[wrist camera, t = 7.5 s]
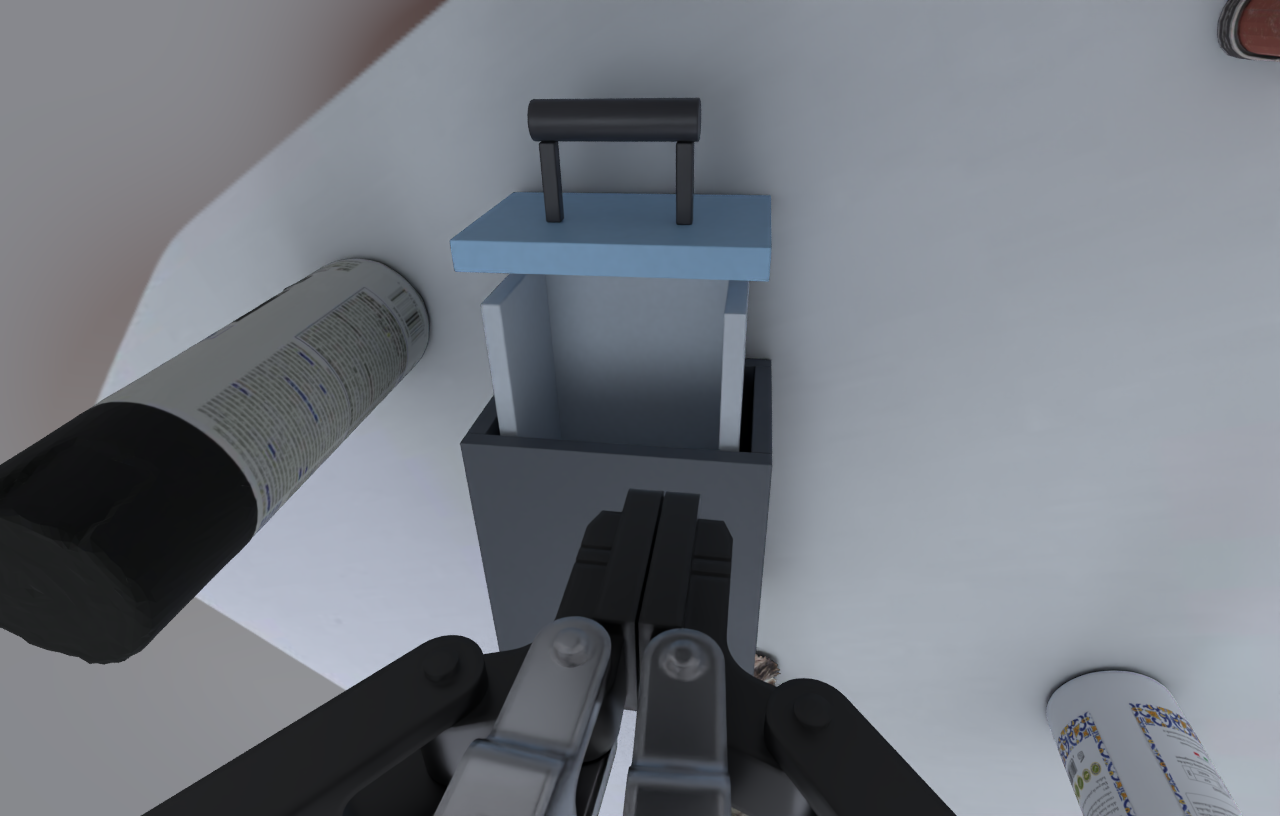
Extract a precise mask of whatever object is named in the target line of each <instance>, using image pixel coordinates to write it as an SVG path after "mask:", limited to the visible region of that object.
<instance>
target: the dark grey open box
mask: <svg viewBox="0 0 1280 816" xmlns="http://www.w3.org/2000/svg"><path fill="white" fill-rule="evenodd" d="M460 445H461V451H462V456H463V461H464V466H465V472H466V477H467V482H468V488H469V493H470V498H471V503H472V509H473V514H474V519H475V525H476V530H477V535H478V540H479V546H480V551H481V556H482V562H483V567H484V572H485V577H486V583H487V588H488V593H489V599H490V604H491V609H492V614H493V620H494V625H495V630H496V635H497V641H498V646H499V651H500V652H501V651H507V650H512V649H517V648H520V647H523V646H526V645H528V644H530V643H532V642H533V640H534V638H535V636H536V635H537V634H538V633H539V631H540V630H541V629H542V628H544V627H545V626H546V625H548V624H549V623H551V622H553V621H554V620H555V618H556V615H557V612H558V609H559V606H560V603H561V601H562V598H563V595H564V592H565V589H566V586H567V583H568V580H569V577H570V574H571V571H572V568H573V565H574V563H575V562H576V557H577V554H578V551H579V548H580V547H581V542H582V539H583V536H584V533H585V530H586V528H587V525H588V524H589V523H590V522H591V521H592V520H593V519H594V518H595V517H596V516H597V515H598V514H599V513H600V512H601V511H602V510H605V511H616V512H622V510H623V507H624V503H625V500H626V496H627V493H628V490H629V488H633V489H645V490H657V491H664V495H665V493H666V491H671V492H684V493H696V494H701V513H700V519H710V520H721V521H724V522H725V524H726V526H727V528H728V530H729V532H730V534H731V536H732V538H733V549H732V564H731V580H730V596H729V611H728V626H727V644H728V648H729V651H730V653H731V655H732V657H733V658H734V660H735V661H736V662H737V664H738V665H739V666H740V667H741V668H742V669H743V670H745V671H746V672H747V673H749V674H750V675H752V676H754V666H755V654H756V643H757V632H758V620H759V609H760V598H761V586H762V575H763V564H764V552H765V541H766V530H767V518H768V507H769V496H770V484H771V473H772V371H771V360H763V359H745V364H744V381H743V399H742V416H741V433H740V450H739V452H734V451H719V450H705V449H690V448H676V447H661V446H646V445H632V444H617V443H602V442H588V441H573V440H559V439H544V438H529V437H515V436H500V429H499V423H498V416H497V410H496V403H495V396H494V395H493V397H492V398H491V400H490V401H489V402H488V404H487V405H486V407H485V408H484V410H483V411H482V413H481V414H480V415H479V417H478V418H477V420H476V421H475V423H474V424H473V425H472V427H471V428H470V430H469V431H468V433H467V434H466V436H465V437H464V438H463V440H462V441H461V443H460Z"/></svg>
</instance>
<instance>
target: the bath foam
mask: <svg viewBox="0 0 1280 816" xmlns="http://www.w3.org/2000/svg"><path fill="white" fill-rule="evenodd" d="M1046 716H1047V721H1048V724H1049V727H1050V729H1051V732H1052V735H1053V737H1054V740H1055V742H1056V745H1057V748H1058V751H1059V754H1060V756H1061V759H1062V761H1063V764H1064V767H1065V769H1066V772H1067V774H1068V777H1069V779H1070V782H1071V785H1072V787H1073V790H1074V792H1075V795H1076V798H1077V800H1078V803H1079V805H1080V808H1081V811H1082V813H1083V816H1243V815H1242V813H1241V811H1240V810H1239V808H1238V806H1237V804H1236V803H1235V801H1234V799H1233V797H1232V796H1231V794H1230V792H1229V791H1228V789H1227V787H1226V785H1225V784H1224V782H1223V780H1222V779H1221V777H1220V775H1219V773H1218V772H1217V770H1216V768H1215V767H1214V765H1213V763H1212V761H1211V760H1210V758H1209V756H1208V754H1207V753H1206V751H1205V749H1204V748H1203V746H1202V744H1201V742H1200V741H1199V739H1198V737H1197V736H1196V734H1195V732H1194V730H1193V729H1192V727H1191V725H1190V724H1189V723H1188V721H1187V719H1186V718H1185V716H1184V714H1183V713H1182V711H1181V709H1180V707H1179V706H1178V704H1177V702H1176V701H1175V699H1174V697H1173V696H1172V694H1171V693H1170V692H1169V690H1168V689H1167V688H1166V687H1164V686H1163V685H1162V684H1161V683H1159V682H1157V681H1156V680H1154V679H1152V678H1150V677H1147V676H1145V675H1142V674H1138V673H1134V672H1128V671H1100V672H1094V673H1089V674H1085V675H1082V676H1079V677H1077V678H1074V679H1072V680H1070V681H1068V682H1067V683H1065V684H1064V685H1062V686H1061V687H1060V688H1058V689H1057V690H1056V691H1055V692H1054V694H1053V695H1052V696H1051V698H1050V700H1049V702H1048V705H1047V709H1046Z"/></svg>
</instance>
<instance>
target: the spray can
mask: <svg viewBox="0 0 1280 816" xmlns="http://www.w3.org/2000/svg"><path fill="white" fill-rule="evenodd" d="M428 340H429V319H428V315H427V311H426V308H425V305H424V303H423V300H422V298H421V296H420V295H419V294H418V293H417V292H416V291H415V289H414V288H413V287H412V286H411V285H410V284H409V283H408V282H407V281H406V280H405V279H404V278H403V277H402V276H401V275H400V274H398V273H397V272H395V271H394V270H392V269H390V268H389V267H387V266H386V265H384V264H382V263H380V262H377V261H372V260H366V259H345V260H339V261H336V262H332V263H330V264H328V265H326V266H324V267H322V268H320V269H319V270H317V271H315V272H314V273H312V274H310V275H309V276H307V277H305V278H304V279H302V280H300V281H299V282H297V283H295V284H293V285H291V286H289V287H287V288H285V289H284V290H283V292H281V293H280V294H278V295H276V296H274V297H273V298H271V299H270V300H268V301H266V302H265V303H263V304H261V305H260V306H258V307H257V308H255V309H253V310H252V311H250V312H248V313H247V314H245V315H243V316H242V317H240V318H238V319H237V320H235V321H233V322H232V323H230V324H228V325H227V326H225V327H223V328H222V329H220V330H218V331H217V332H215V333H213V334H212V335H210V336H208V337H207V338H205V339H204V340H202V341H200V342H199V343H197V344H195V345H193V346H192V347H190V348H188V349H187V350H185V351H184V352H182V353H180V354H179V355H177V356H176V357H174V358H172V359H171V360H169V361H167V362H165V363H164V364H162V365H160V366H159V367H157V368H155V369H154V370H152V371H151V372H149V373H147V374H146V375H144V376H142V377H141V378H139V379H137V380H136V381H134V382H132V383H131V384H129V385H127V386H126V387H124V388H122V389H120V390H119V391H117V392H115V393H114V394H112V395H110V396H108V397H107V398H105V399H103V400H102V401H100V402H99V403H97V404H96V405H94V406H93V407H91V408H90V409H88V410H87V411H85V412H83V413H81V414H80V415H78V416H77V417H75V418H74V419H72V420H71V421H69V422H68V423H66V424H64V425H63V426H61V427H60V428H58V429H57V430H55V431H54V432H52V433H50V434H49V435H47V436H46V437H44V438H43V439H41V440H40V441H38V442H36V443H35V444H33V445H32V446H30V447H28V448H27V449H25V450H24V451H22V452H20V453H19V454H17V455H16V456H14V457H12V458H11V459H9V460H7V461H6V462H4V463H3V464H1V465H0V628H3V629H5V630H7V631H9V632H11V633H13V634H15V635H17V636H20V637H22V638H23V639H24V640H25V641H27V642H28V643H29V644H32V645H35V646H37V647H40V648H43V649H46V650H50V651H55V652H60V653H63V654H66V655H69V656H75V657H80V658H81V659H83V660H85V661H86V662H88V663H89V664H92V663H99V664H108V663H119V662H122V661H125V660H126V659H127V658H129V657H130V656H132V655H134V654H137V653H138V652H140V651H142V650H143V649H144V648H145V647H146V646H147V645H148V644H149V643H150V642H151V641H152V640H153V638H154V637H155V636H156V635H157V634H158V633H159V632H160V631H161V630H162V629H163V628H164V627H165V626H166V625H167V624H168V623H169V622H170V621H171V620H172V619H173V618H174V617H175V616H176V615H177V614H178V613H179V612H180V611H181V610H182V609H183V608H184V607H185V606H186V605H187V604H188V603H189V602H190V601H191V600H192V599H193V598H194V597H195V596H196V595H197V594H198V593H199V592H200V591H201V590H202V589H203V588H204V586H205V585H206V584H207V583H208V582H209V581H210V580H211V579H212V578H213V577H214V576H215V575H216V574H217V573H218V572H219V571H220V570H221V569H222V568H223V567H224V566H225V565H226V564H227V563H228V562H229V561H230V560H231V559H232V558H234V557H235V556H236V555H237V554H238V553H239V552H240V551H241V550H242V549H243V548H244V547H245V546H246V545H247V544H248V542H249V541H250V540H251V539H252V537H253V536H254V535H255V534H256V533H257V532H258V531H259V530H260V529H261V528H262V527H263V526H264V525H265V524H266V523H267V522H268V521H269V520H270V518H271V517H272V516H273V515H274V514H275V513H276V512H277V511H278V510H279V509H280V508H281V507H282V505H283V504H284V503H285V502H286V501H287V500H288V499H289V498H290V497H291V496H292V495H293V494H294V493H295V492H296V491H297V490H298V489H299V488H300V487H301V485H302V484H303V483H304V482H305V481H306V480H307V479H308V478H309V477H310V476H311V475H312V474H313V473H314V472H315V471H316V470H317V468H318V467H319V466H320V465H321V464H322V463H323V462H324V461H325V460H326V459H327V458H328V457H329V456H330V455H331V454H332V453H333V452H334V451H335V450H336V449H337V448H338V447H339V446H340V444H341V443H342V442H343V441H344V440H345V439H346V438H347V437H348V436H349V435H350V434H351V433H352V432H353V431H354V430H355V429H356V428H357V426H358V425H359V424H360V423H361V422H362V421H363V420H364V419H365V418H366V417H367V416H368V415H369V414H370V413H371V412H372V411H373V410H374V408H375V407H376V406H377V405H378V404H379V403H380V402H381V401H382V400H383V399H384V398H385V397H386V396H387V395H388V394H389V393H390V392H391V391H392V390H393V389H394V387H395V386H396V385H397V384H398V383H399V382H400V381H401V380H402V379H403V378H404V377H405V376H406V375H407V374H408V373H409V372H410V371H411V370H412V368H413V367H414V366H415V365H416V364H417V363H418V362H419V360H420V359H421V357H422V356H423V354H424V352H425V349H426V347H427V344H428Z"/></svg>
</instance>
